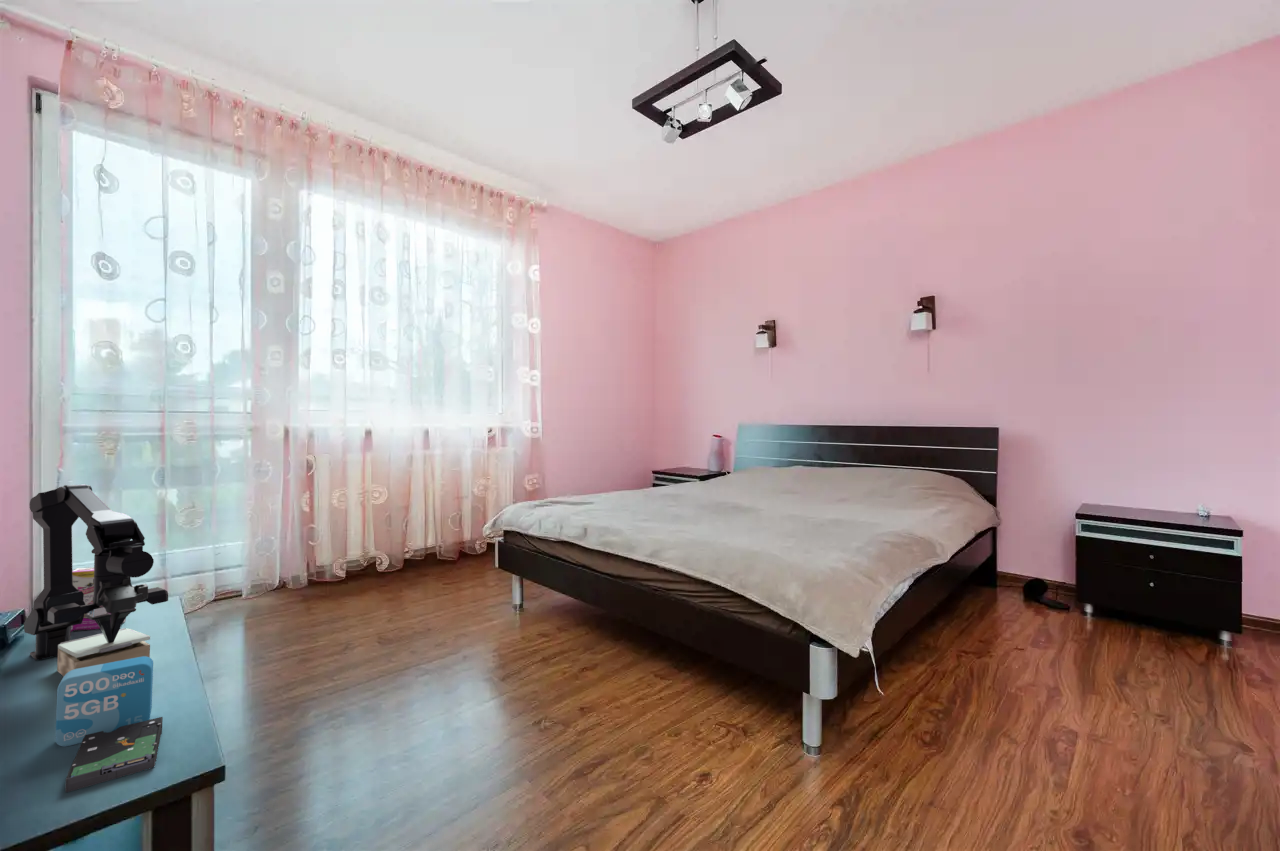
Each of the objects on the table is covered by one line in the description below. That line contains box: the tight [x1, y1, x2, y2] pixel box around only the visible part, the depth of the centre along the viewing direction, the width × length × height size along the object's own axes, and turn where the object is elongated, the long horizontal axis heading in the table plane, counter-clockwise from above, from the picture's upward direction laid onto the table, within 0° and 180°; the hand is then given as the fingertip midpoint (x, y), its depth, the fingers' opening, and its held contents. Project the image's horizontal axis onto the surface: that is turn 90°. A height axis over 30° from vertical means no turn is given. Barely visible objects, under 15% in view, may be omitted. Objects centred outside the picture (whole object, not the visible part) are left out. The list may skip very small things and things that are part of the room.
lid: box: [58, 627, 151, 658], centre depth 121 cm, size 16×12×1 cm
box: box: [56, 641, 151, 677], centre depth 121 cm, size 14×12×5 cm
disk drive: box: [64, 716, 163, 793], centre depth 89 cm, size 10×3×15 cm
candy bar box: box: [71, 566, 127, 633], centre depth 146 cm, size 11×5×16 cm, turn 115°
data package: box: [55, 656, 154, 747], centre depth 96 cm, size 12×4×12 cm, turn 130°
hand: (110, 642), depth 119 cm, fingers closed, pressing on lid
